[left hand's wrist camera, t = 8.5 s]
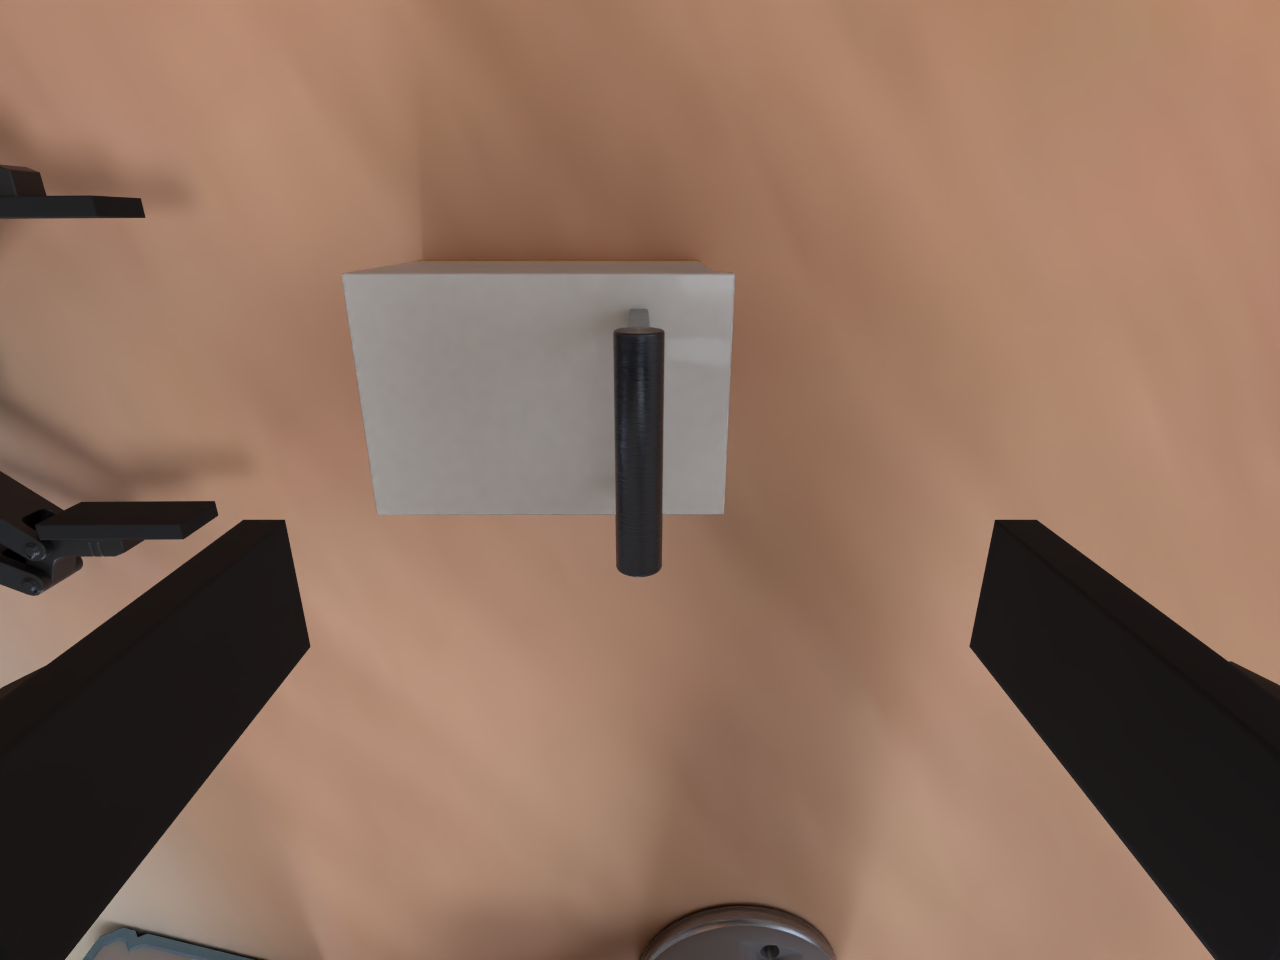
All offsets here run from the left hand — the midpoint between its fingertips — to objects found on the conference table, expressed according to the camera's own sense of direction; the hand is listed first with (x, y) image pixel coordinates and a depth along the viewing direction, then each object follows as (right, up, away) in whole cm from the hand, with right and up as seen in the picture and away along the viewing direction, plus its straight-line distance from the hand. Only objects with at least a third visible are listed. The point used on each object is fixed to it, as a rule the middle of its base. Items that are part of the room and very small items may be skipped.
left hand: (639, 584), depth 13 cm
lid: (-4, +5, +14) cm, 15 cm away
